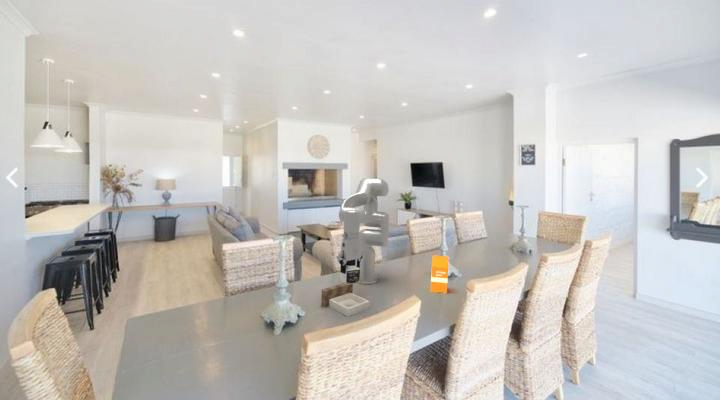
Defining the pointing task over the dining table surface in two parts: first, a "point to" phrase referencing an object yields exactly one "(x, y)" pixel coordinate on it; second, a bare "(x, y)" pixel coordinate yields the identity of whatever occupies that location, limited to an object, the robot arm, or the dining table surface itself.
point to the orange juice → (439, 274)
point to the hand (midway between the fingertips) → (350, 271)
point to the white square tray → (349, 304)
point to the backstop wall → (335, 292)
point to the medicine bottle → (351, 273)
